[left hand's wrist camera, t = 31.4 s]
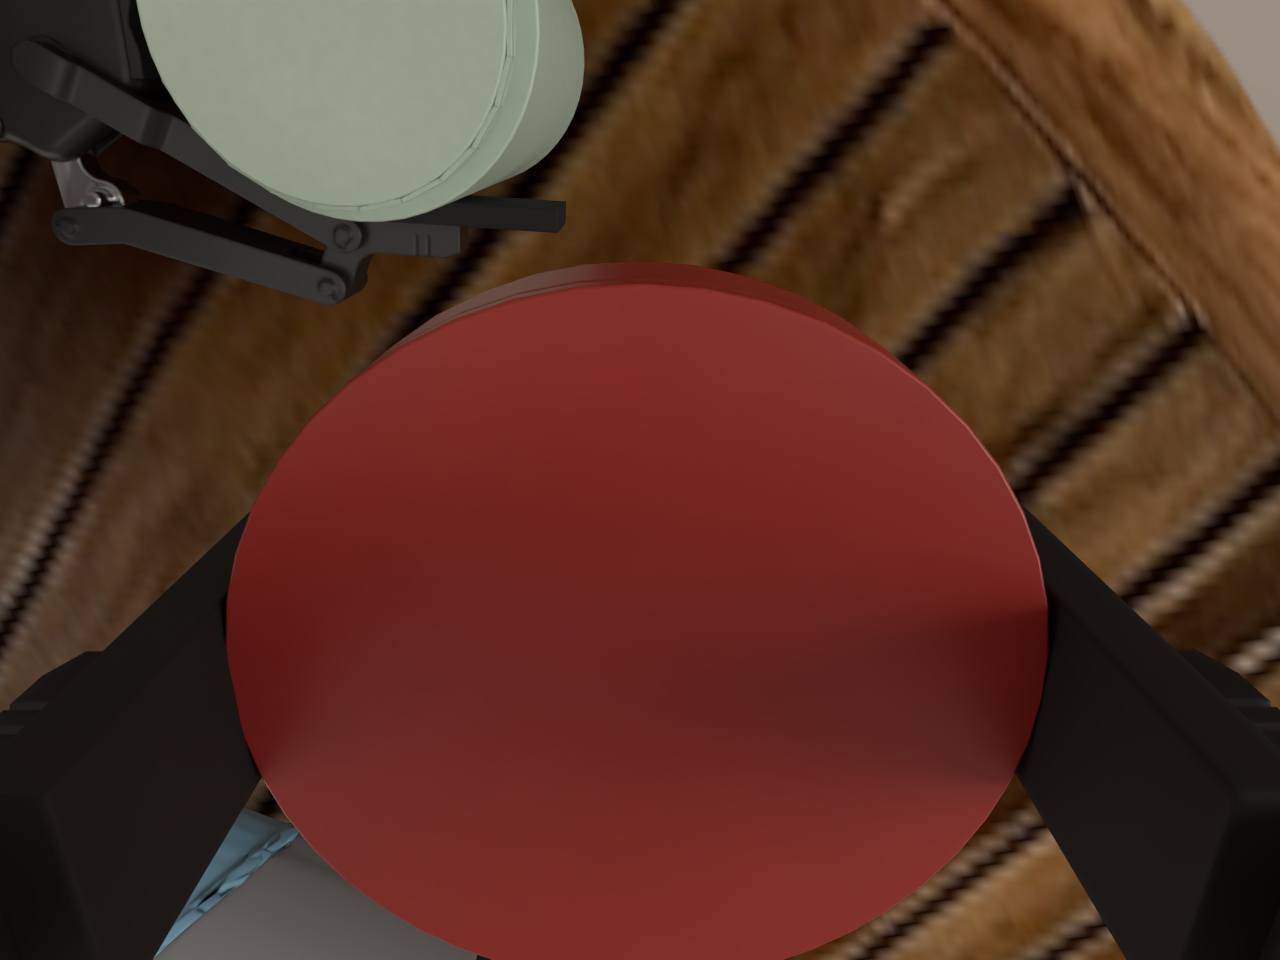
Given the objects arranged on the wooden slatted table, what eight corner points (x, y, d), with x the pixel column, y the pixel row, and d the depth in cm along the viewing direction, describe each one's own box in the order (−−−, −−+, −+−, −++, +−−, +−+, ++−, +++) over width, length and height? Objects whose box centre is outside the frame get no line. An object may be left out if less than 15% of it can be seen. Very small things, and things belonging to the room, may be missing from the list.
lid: (1136, 443, 11) (1226, 497, 9) (792, 949, 14) (812, 1055, 13) (404, 120, 10) (353, 116, 8) (214, 767, 13) (150, 861, 11)
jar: (355, 175, 34) (145, 216, 20) (338, -92, 31) (67, -270, 17) (579, 191, 35) (527, 242, 20) (589, -73, 31) (534, -234, 17)
